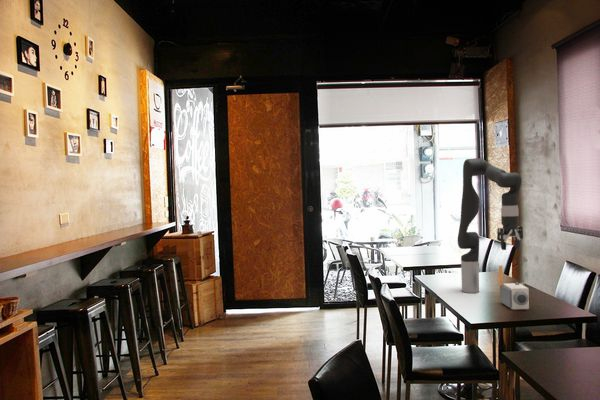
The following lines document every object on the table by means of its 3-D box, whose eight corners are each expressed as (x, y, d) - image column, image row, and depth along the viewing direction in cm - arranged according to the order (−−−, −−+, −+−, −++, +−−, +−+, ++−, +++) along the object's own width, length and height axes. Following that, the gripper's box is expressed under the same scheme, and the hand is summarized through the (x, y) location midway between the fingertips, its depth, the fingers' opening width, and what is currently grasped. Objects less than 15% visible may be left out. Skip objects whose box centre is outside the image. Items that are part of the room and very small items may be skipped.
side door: (499, 301, 252) (498, 265, 251) (501, 301, 252) (501, 265, 251) (509, 307, 239) (508, 270, 238) (511, 307, 239) (510, 270, 238)
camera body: (502, 303, 251) (502, 281, 251) (519, 302, 251) (518, 281, 251) (513, 310, 237) (513, 287, 237) (530, 310, 237) (530, 287, 237)
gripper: (514, 213, 243) (514, 246, 244) (492, 215, 237) (493, 249, 238) (527, 214, 236) (527, 248, 237) (505, 216, 230) (505, 251, 231)
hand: (510, 248), depth 237 cm, fingers open, 8 cm apart
